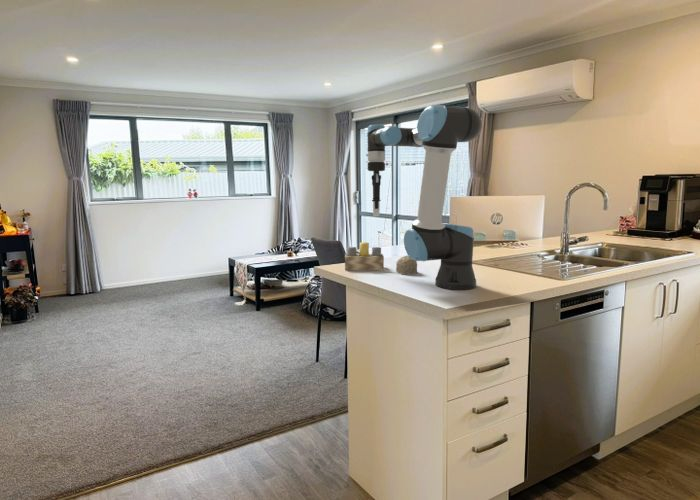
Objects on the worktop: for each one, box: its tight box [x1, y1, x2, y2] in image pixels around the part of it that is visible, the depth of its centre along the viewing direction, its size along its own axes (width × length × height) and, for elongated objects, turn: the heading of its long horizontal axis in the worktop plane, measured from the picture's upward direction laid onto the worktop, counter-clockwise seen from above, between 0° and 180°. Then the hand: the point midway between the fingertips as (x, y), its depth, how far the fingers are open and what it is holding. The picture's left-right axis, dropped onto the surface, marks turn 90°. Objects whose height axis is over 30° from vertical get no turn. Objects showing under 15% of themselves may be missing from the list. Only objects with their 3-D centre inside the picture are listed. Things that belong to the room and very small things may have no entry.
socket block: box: [344, 253, 385, 271], centre depth 210 cm, size 17×8×6 cm, turn 90°
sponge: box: [395, 255, 418, 275], centre depth 201 cm, size 9×10×10 cm
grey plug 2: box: [371, 246, 382, 256], centre depth 209 cm, size 4×4×9 cm
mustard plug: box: [359, 242, 370, 256], centre depth 209 cm, size 4×4×9 cm
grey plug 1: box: [346, 246, 357, 256], centre depth 209 cm, size 4×4×9 cm
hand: (376, 216), depth 205 cm, fingers closed
